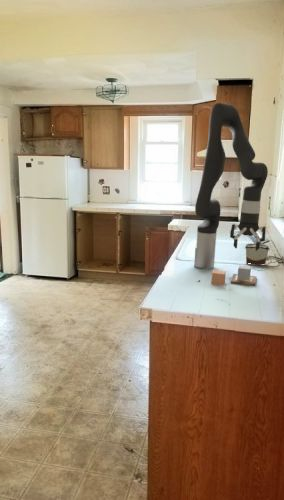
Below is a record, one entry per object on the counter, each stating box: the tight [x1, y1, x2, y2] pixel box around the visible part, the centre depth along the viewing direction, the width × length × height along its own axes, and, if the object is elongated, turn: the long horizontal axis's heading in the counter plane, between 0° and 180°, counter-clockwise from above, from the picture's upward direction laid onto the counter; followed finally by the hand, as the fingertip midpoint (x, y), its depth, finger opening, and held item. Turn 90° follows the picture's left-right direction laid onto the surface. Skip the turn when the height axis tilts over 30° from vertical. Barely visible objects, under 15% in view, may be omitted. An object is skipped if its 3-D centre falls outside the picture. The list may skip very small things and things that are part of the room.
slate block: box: [237, 265, 252, 281], centre depth 162 cm, size 5×5×5 cm
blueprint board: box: [230, 273, 257, 287], centre depth 163 cm, size 10×12×1 cm
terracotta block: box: [210, 269, 226, 286], centre depth 158 cm, size 5×5×5 cm
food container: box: [244, 243, 271, 265], centre depth 193 cm, size 12×6×10 cm, turn 84°
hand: (246, 249), depth 160 cm, fingers open, 8 cm apart
